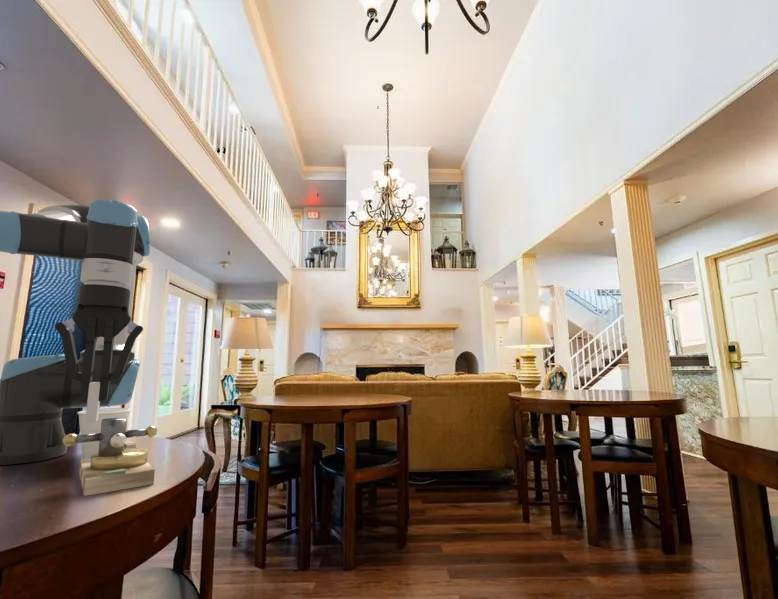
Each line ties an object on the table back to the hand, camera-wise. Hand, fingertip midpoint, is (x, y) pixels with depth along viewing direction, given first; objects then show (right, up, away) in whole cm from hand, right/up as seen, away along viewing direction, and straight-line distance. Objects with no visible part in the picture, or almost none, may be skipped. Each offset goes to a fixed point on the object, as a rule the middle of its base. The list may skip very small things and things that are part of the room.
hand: (91, 420), depth 69 cm
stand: (-1, -13, +7) cm, 14 cm away
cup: (-12, -15, +19) cm, 27 cm away
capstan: (-1, -10, +6) cm, 11 cm away
